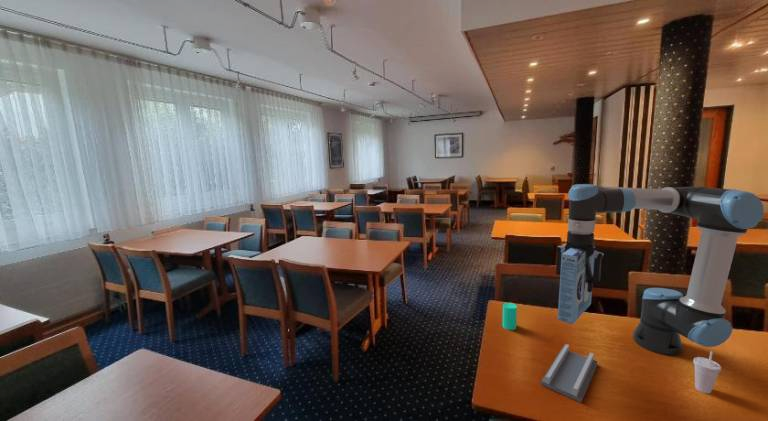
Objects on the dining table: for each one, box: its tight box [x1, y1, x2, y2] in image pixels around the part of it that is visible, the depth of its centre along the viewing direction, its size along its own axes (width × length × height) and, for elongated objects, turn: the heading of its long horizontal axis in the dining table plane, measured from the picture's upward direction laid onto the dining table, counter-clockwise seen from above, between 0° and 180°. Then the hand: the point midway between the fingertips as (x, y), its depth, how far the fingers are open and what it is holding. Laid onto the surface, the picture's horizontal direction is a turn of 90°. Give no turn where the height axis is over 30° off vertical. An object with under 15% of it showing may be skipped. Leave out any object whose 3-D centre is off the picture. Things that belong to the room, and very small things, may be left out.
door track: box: [540, 343, 598, 403], centre depth 112 cm, size 12×24×4 cm, turn 136°
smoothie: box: [692, 350, 722, 395], centre depth 102 cm, size 6×6×14 cm
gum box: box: [556, 242, 596, 325], centre depth 106 cm, size 20×5×23 cm, turn 132°
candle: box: [502, 302, 518, 331], centre depth 144 cm, size 6×6×12 cm
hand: (575, 297), depth 107 cm, fingers closed on gum box, 5 cm apart
